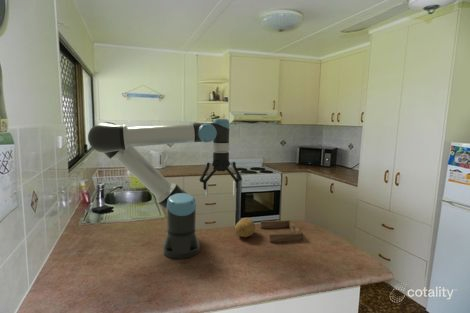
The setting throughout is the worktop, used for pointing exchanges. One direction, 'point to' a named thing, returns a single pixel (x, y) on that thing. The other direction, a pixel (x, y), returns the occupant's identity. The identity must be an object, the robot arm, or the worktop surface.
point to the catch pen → (294, 236)
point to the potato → (245, 227)
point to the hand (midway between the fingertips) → (220, 195)
